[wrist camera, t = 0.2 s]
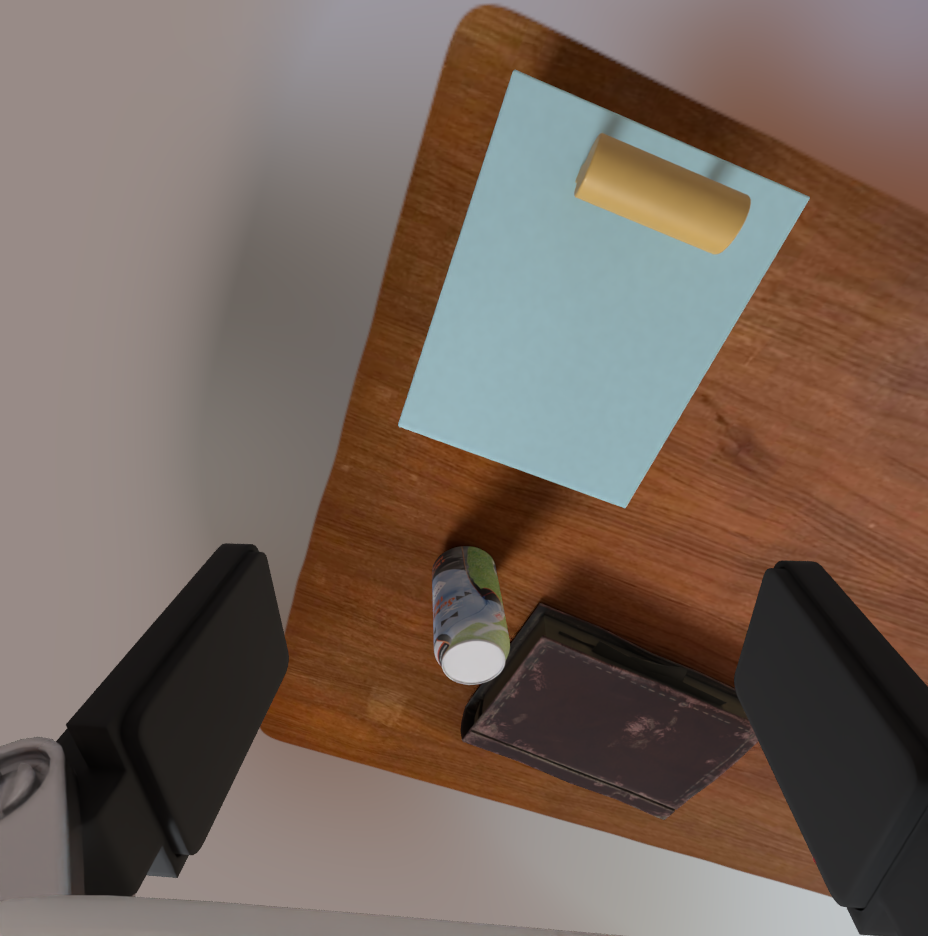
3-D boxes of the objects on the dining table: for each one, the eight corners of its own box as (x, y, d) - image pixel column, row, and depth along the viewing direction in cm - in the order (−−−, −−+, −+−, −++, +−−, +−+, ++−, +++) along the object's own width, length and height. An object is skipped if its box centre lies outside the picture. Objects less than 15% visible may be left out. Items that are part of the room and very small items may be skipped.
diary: (650, 782, 62) (661, 827, 58) (462, 707, 59) (458, 748, 55) (754, 686, 54) (777, 729, 50) (543, 594, 51) (547, 631, 47)
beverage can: (438, 533, 49) (419, 624, 38) (515, 547, 49) (517, 641, 38) (430, 585, 52) (409, 684, 41) (503, 598, 52) (501, 700, 41)
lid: (513, 73, 20) (515, 31, 15) (801, 197, 21) (884, 193, 16) (400, 420, 27) (376, 465, 22) (622, 501, 28) (645, 560, 23)
